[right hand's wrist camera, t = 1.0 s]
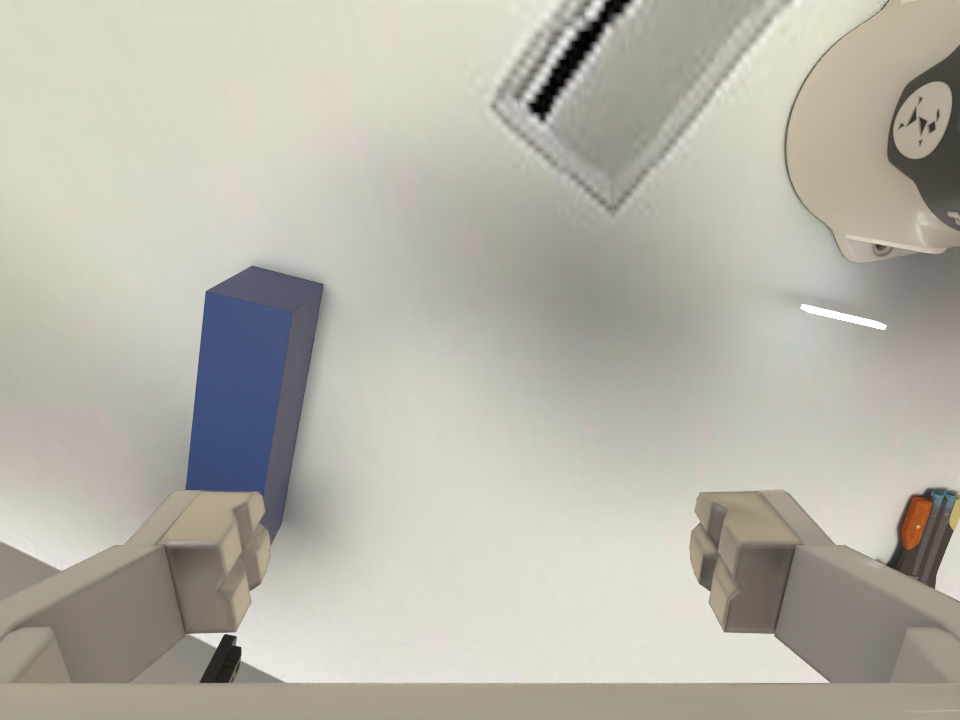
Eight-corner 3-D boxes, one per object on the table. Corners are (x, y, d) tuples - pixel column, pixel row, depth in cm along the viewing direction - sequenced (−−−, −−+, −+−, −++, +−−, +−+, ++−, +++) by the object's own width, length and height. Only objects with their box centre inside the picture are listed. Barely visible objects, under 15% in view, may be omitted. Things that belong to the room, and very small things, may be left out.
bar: (251, 265, 43) (205, 290, 35) (323, 284, 43) (292, 312, 36) (219, 512, 51) (176, 575, 43) (281, 525, 51) (248, 589, 44)
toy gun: (808, 664, 54) (917, 679, 54) (859, 490, 49) (982, 503, 48) (796, 643, 57) (900, 656, 56) (843, 475, 51) (959, 487, 51)
